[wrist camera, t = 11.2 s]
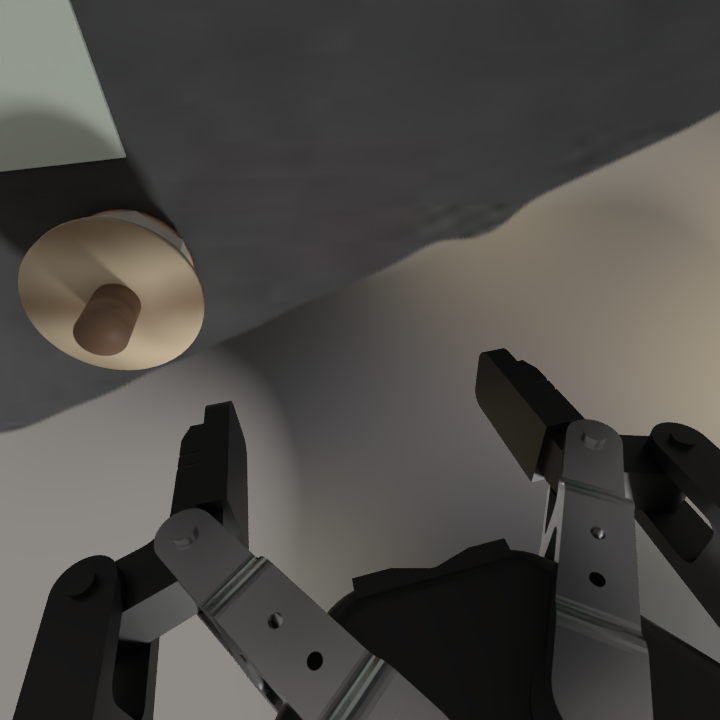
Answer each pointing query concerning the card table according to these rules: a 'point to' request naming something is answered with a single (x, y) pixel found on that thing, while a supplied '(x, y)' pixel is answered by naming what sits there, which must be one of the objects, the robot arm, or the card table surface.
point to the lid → (111, 293)
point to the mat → (50, 90)
